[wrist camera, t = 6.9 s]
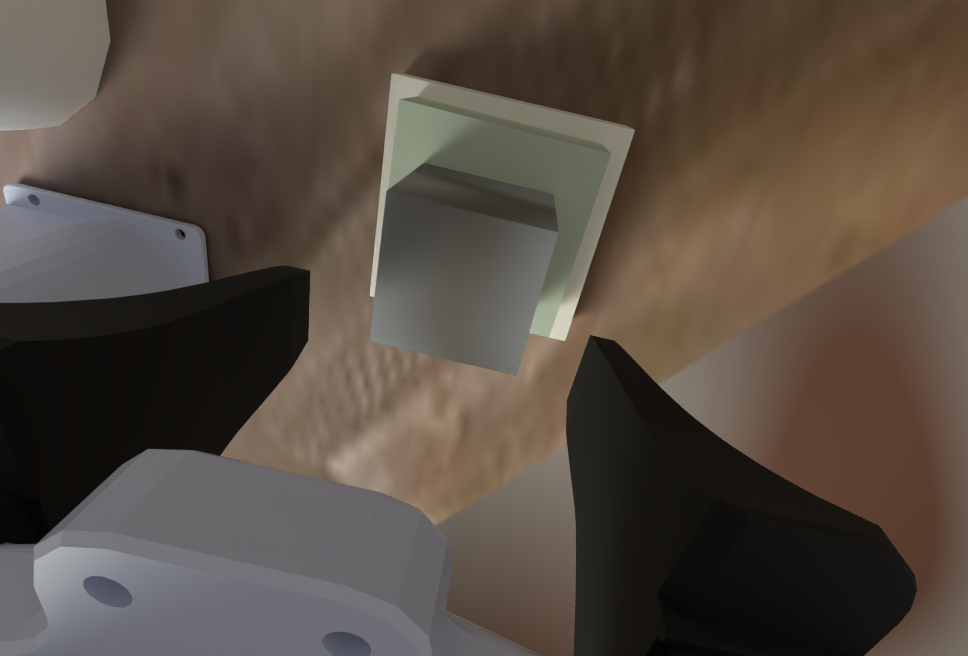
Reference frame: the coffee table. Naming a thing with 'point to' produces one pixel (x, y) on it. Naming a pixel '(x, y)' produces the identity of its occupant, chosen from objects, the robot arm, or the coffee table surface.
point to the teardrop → (49, 59)
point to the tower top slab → (508, 172)
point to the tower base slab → (533, 115)
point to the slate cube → (462, 266)
